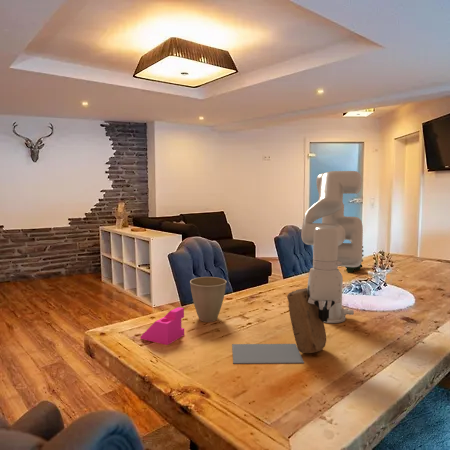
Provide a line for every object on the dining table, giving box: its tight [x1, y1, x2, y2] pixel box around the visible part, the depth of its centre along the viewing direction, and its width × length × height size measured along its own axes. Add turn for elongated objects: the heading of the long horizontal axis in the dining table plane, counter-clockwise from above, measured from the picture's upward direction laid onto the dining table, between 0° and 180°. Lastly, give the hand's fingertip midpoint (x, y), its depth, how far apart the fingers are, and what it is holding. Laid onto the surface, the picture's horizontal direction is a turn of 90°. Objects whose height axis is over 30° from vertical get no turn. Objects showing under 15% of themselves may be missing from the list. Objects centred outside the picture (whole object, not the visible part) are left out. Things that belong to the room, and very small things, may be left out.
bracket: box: [140, 306, 185, 346], centre depth 141 cm, size 12×10×10 cm
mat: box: [231, 343, 305, 365], centre depth 127 cm, size 22×14×1 cm, turn 91°
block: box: [286, 287, 327, 354], centre depth 129 cm, size 11×8×20 cm
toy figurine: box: [345, 246, 365, 274], centre depth 246 cm, size 9×19×25 cm
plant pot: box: [189, 276, 227, 323], centre depth 159 cm, size 15×15×16 cm
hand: (323, 320), depth 126 cm, fingers closed
